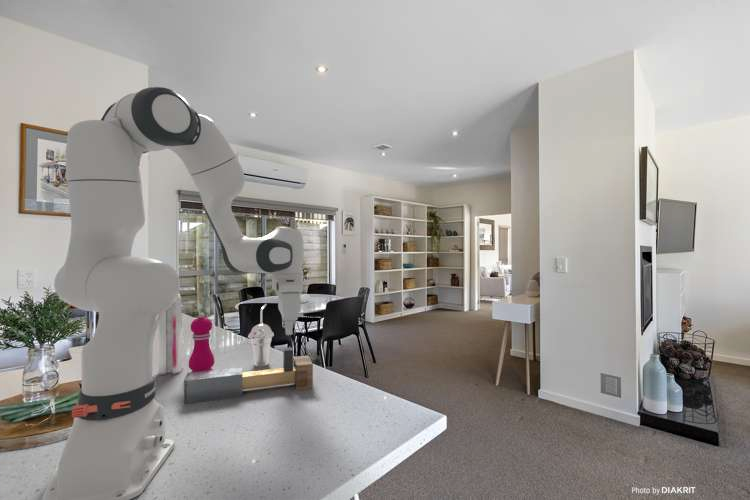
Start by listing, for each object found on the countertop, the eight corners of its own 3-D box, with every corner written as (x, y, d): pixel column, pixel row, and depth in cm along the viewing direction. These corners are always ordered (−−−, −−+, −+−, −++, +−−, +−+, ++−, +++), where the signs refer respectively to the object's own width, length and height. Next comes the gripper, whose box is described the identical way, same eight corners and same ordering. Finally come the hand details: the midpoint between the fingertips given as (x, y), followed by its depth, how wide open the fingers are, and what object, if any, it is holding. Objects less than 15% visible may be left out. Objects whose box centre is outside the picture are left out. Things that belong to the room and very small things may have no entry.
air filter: (186, 368, 116) (185, 293, 116) (173, 375, 110) (172, 296, 109) (168, 367, 117) (167, 292, 117) (153, 375, 111) (153, 295, 110)
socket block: (312, 388, 101) (312, 363, 101) (296, 390, 100) (296, 365, 99) (308, 377, 109) (308, 355, 108) (293, 379, 107) (293, 357, 107)
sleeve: (242, 396, 96) (242, 374, 95) (184, 404, 91) (184, 380, 91) (242, 387, 101) (242, 366, 101) (187, 394, 96) (187, 372, 96)
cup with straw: (242, 366, 119) (242, 307, 118) (262, 358, 127) (261, 303, 127) (261, 370, 115) (261, 309, 115) (280, 361, 123) (280, 304, 123)
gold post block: (304, 381, 102) (304, 349, 102) (230, 391, 96) (230, 356, 95) (302, 377, 106) (302, 345, 106) (231, 386, 99) (230, 352, 99)
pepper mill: (204, 382, 105) (203, 315, 105) (183, 380, 107) (182, 314, 106) (219, 373, 112) (219, 310, 112) (199, 371, 114) (199, 309, 113)
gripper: (273, 280, 111) (273, 324, 111) (279, 286, 91) (278, 340, 91) (294, 279, 113) (293, 323, 113) (303, 286, 94) (303, 338, 94)
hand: (287, 330), depth 102 cm, fingers open, 8 cm apart
